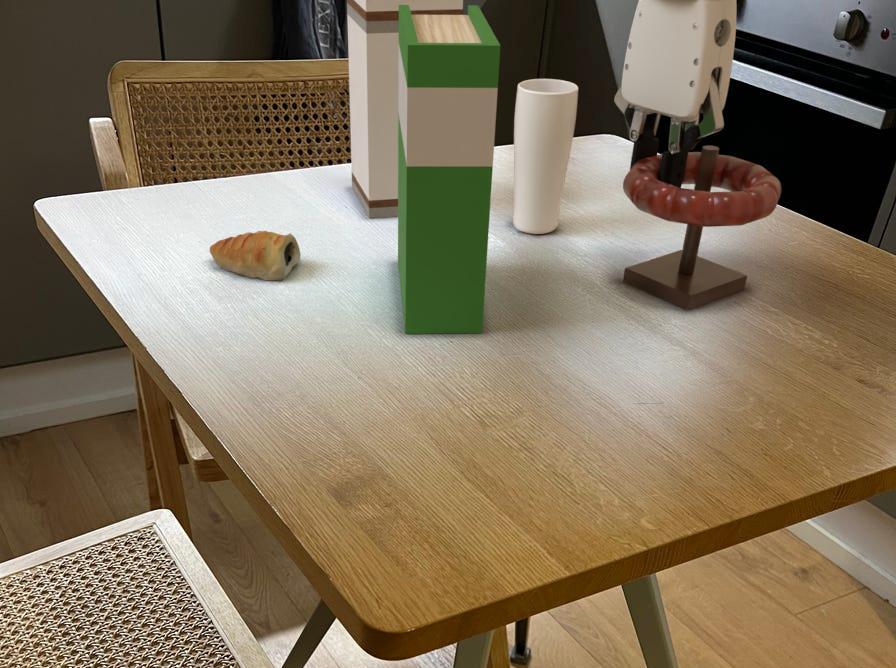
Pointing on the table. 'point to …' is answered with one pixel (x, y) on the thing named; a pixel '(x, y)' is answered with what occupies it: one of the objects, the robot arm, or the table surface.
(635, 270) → the peg stand
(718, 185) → the ring
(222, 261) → the pastry
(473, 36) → the hardback book
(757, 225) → the table surface
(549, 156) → the drinking glass
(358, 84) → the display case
